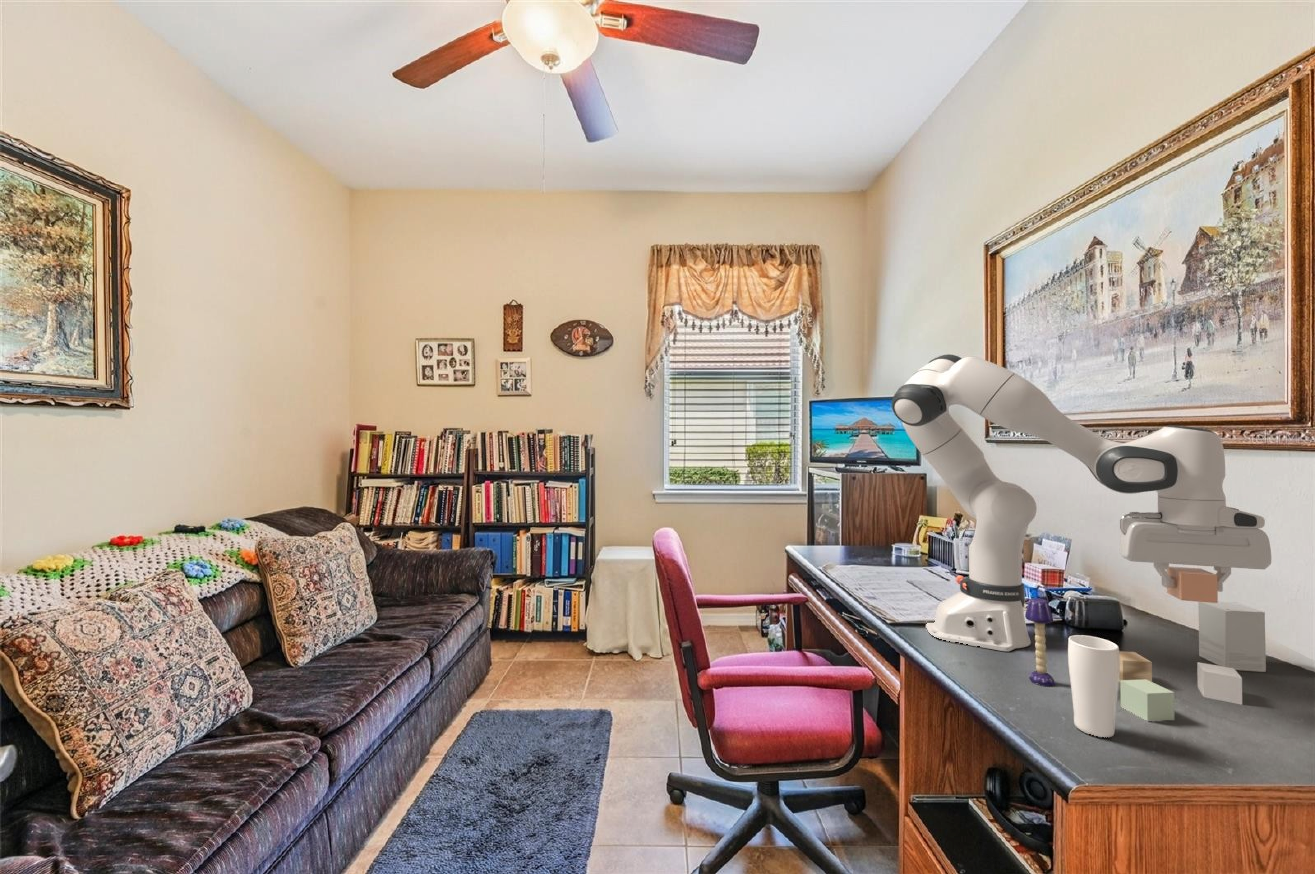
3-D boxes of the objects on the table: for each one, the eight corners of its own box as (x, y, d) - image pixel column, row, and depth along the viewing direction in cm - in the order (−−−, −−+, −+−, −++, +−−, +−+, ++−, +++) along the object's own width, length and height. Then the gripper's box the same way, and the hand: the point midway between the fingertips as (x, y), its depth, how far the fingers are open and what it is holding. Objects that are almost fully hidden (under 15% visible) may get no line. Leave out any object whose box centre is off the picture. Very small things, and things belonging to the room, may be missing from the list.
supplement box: (1267, 672, 110) (1267, 612, 110) (1225, 670, 112) (1224, 610, 112) (1236, 658, 118) (1236, 601, 118) (1197, 655, 119) (1196, 599, 119)
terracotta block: (1181, 600, 96) (1181, 572, 96) (1166, 592, 100) (1166, 566, 100) (1217, 603, 94) (1217, 575, 94) (1201, 595, 99) (1200, 568, 99)
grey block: (1203, 697, 101) (1203, 671, 101) (1197, 687, 105) (1197, 662, 105) (1242, 705, 98) (1241, 678, 98) (1234, 694, 102) (1233, 668, 102)
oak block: (1122, 685, 106) (1122, 660, 106) (1107, 674, 111) (1106, 650, 111) (1152, 687, 105) (1151, 662, 105) (1134, 676, 110) (1134, 652, 110)
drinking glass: (1058, 721, 93) (1057, 635, 93) (1094, 718, 93) (1093, 633, 93) (1093, 743, 86) (1092, 651, 86) (1131, 740, 86) (1130, 649, 86)
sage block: (1147, 722, 92) (1147, 693, 92) (1120, 707, 97) (1120, 680, 97) (1174, 721, 92) (1174, 692, 92) (1146, 706, 97) (1146, 679, 97)
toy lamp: (1046, 689, 104) (1045, 604, 104) (1020, 679, 108) (1020, 598, 108) (1059, 683, 106) (1058, 601, 106) (1033, 674, 111) (1033, 594, 111)
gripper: (1127, 513, 98) (1128, 588, 98) (1277, 518, 91) (1278, 599, 91) (1112, 509, 104) (1113, 579, 104) (1252, 513, 96) (1253, 589, 96)
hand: (1191, 589), depth 97 cm, fingers closed on terracotta block, 5 cm apart
